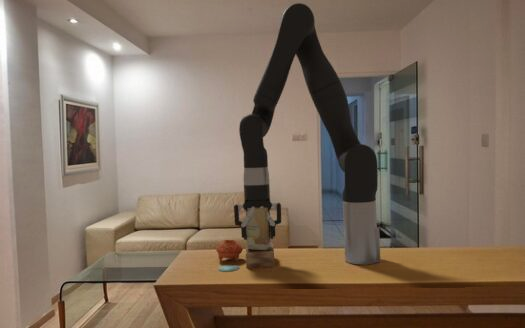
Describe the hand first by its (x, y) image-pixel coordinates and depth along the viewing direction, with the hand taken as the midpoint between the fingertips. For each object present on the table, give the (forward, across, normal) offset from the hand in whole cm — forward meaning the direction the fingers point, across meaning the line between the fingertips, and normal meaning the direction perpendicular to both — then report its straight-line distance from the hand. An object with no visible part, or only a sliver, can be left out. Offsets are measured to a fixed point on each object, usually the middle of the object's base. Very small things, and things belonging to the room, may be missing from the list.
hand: (258, 238), depth 113 cm
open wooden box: (+7, 0, 0) cm, 7 cm away
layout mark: (+7, -9, -4) cm, 12 cm away
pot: (+7, -9, +4) cm, 13 cm away
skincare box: (+3, 0, 0) cm, 3 cm away
